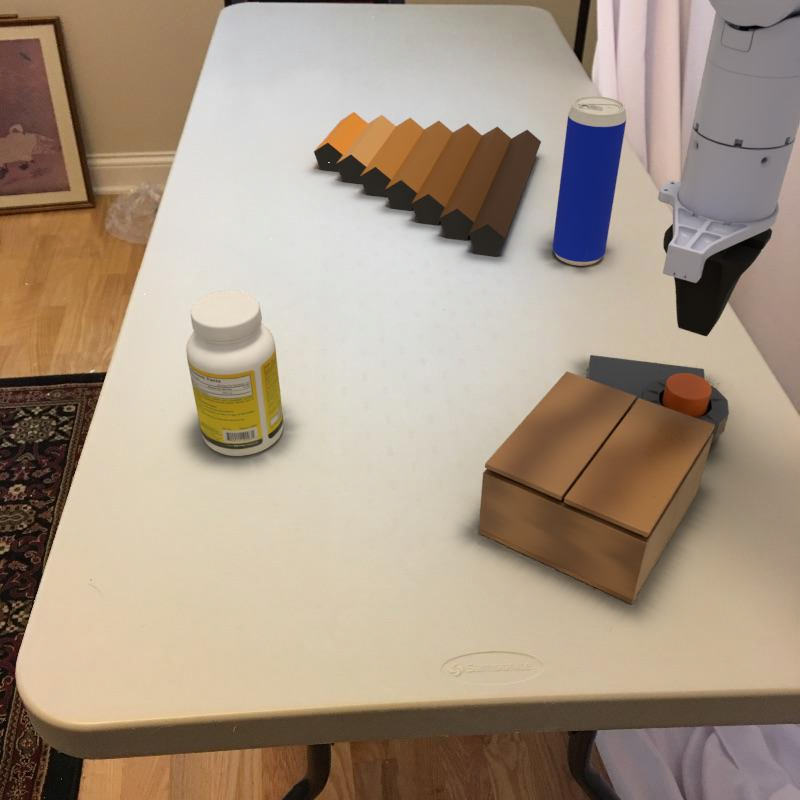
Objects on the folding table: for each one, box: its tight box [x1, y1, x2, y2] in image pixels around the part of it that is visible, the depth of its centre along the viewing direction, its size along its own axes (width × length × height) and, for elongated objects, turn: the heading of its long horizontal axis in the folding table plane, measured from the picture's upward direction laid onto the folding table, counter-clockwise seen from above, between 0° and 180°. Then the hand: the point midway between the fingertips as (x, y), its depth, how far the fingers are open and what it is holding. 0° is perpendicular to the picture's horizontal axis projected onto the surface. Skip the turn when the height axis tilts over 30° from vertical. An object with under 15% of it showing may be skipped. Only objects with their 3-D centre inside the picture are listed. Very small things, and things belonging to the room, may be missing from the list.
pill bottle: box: [185, 289, 284, 457], centre depth 65 cm, size 6×6×11 cm
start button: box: [662, 373, 712, 417], centre depth 66 cm, size 3×3×2 cm
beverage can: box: [552, 95, 627, 267], centre depth 85 cm, size 5×5×15 cm
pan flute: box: [313, 111, 542, 257], centre depth 100 cm, size 25×3×25 cm
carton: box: [478, 370, 713, 605], centre depth 60 cm, size 11×12×6 cm
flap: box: [564, 398, 715, 537], centre depth 57 cm, size 5×12×1 cm, turn 146°
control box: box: [586, 354, 730, 443], centre depth 69 cm, size 10×10×3 cm
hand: (695, 327), depth 61 cm, fingers closed
